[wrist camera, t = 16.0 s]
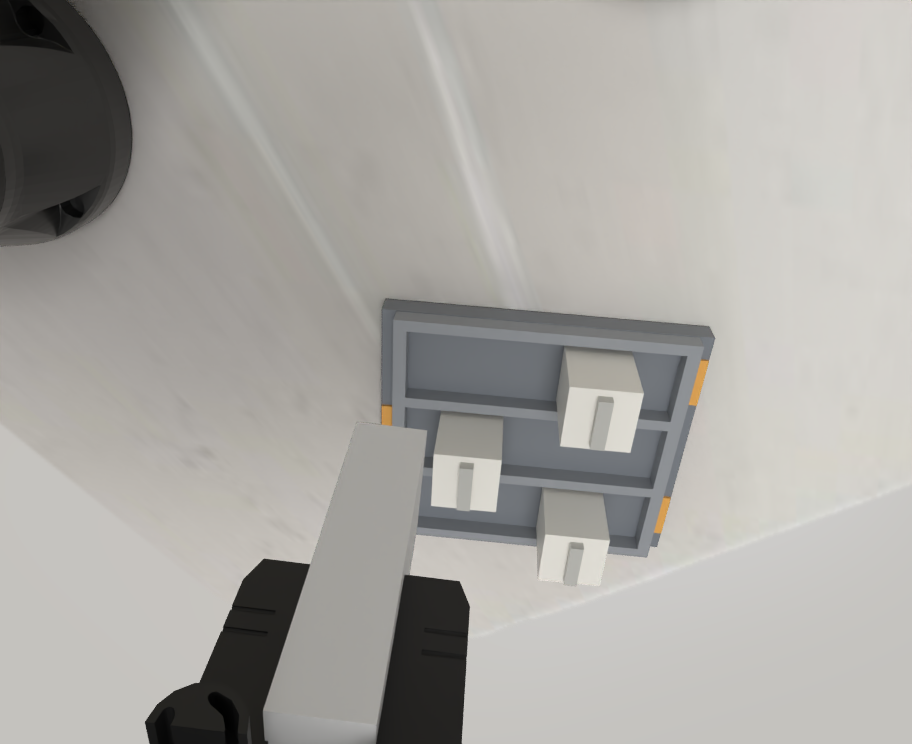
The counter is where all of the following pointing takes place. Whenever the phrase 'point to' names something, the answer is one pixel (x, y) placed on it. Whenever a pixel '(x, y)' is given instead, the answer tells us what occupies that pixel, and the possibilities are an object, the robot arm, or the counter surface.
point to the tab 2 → (598, 399)
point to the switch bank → (541, 411)
